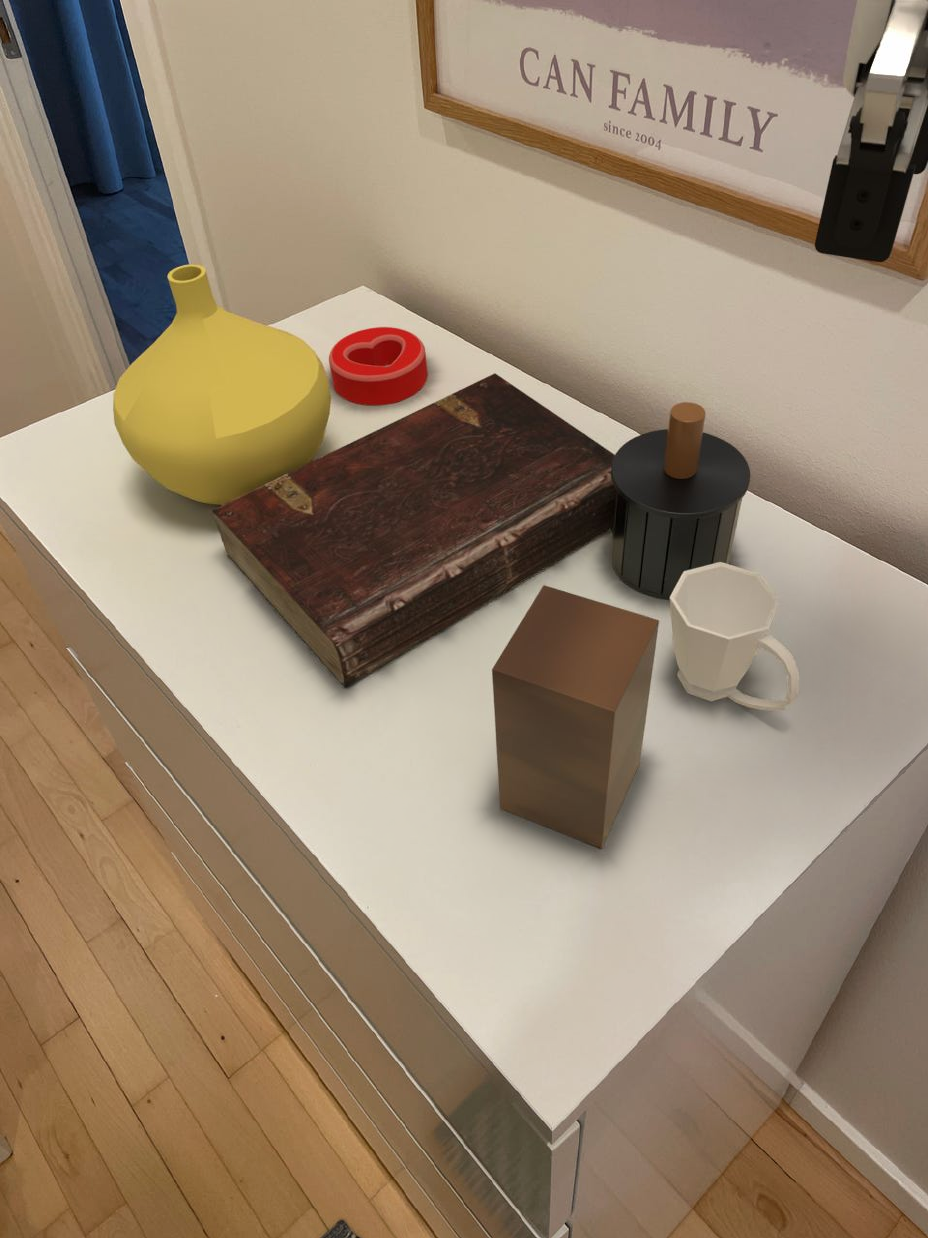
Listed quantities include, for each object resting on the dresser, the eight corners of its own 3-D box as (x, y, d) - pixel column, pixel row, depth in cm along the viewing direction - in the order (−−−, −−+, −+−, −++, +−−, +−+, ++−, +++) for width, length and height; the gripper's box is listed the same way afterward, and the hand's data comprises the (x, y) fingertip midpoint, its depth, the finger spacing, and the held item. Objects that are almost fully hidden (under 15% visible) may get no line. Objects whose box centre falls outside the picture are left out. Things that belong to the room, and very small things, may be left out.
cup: (703, 625, 70) (718, 546, 65) (815, 705, 65) (843, 626, 59) (637, 674, 68) (647, 595, 62) (748, 761, 62) (770, 684, 56)
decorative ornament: (380, 417, 91) (375, 389, 89) (313, 383, 96) (308, 355, 94) (447, 372, 96) (444, 344, 94) (380, 342, 101) (377, 315, 98)
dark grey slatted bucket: (741, 538, 77) (759, 453, 71) (707, 613, 71) (723, 529, 65) (633, 509, 80) (641, 426, 74) (593, 579, 74) (598, 496, 68)
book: (347, 689, 68) (336, 644, 65) (227, 555, 79) (212, 509, 75) (636, 515, 79) (641, 468, 76) (496, 418, 90) (495, 373, 86)
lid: (765, 451, 71) (778, 388, 67) (727, 534, 65) (739, 470, 61) (637, 422, 74) (643, 360, 70) (590, 498, 68) (593, 435, 64)
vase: (285, 555, 79) (229, 351, 65) (102, 514, 84) (14, 317, 70) (374, 428, 90) (344, 232, 76) (209, 399, 95) (152, 210, 81)
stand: (640, 763, 63) (659, 619, 52) (601, 849, 58) (614, 712, 48) (542, 728, 65) (543, 584, 55) (499, 808, 61) (491, 669, 51)
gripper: (1114, -263, 26) (926, 310, 38) (1132, -317, 36) (980, 150, 49) (833, -255, 28) (743, 279, 41) (925, -308, 39) (831, 133, 51)
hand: (872, 208), depth 45 cm, fingers open, 9 cm apart
